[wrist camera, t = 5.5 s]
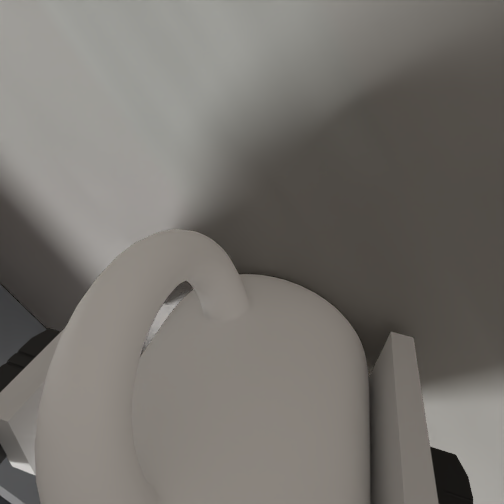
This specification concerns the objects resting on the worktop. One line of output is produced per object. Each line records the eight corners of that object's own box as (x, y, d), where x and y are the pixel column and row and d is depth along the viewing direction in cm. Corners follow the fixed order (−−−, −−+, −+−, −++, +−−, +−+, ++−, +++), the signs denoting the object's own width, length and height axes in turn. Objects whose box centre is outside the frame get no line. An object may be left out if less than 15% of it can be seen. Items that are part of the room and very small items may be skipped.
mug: (114, 179, 12) (-405, 496, 4) (358, 149, 10) (321, 909, 1) (203, 399, 18) (66, 717, 10) (372, 419, 16) (380, 879, 7)
